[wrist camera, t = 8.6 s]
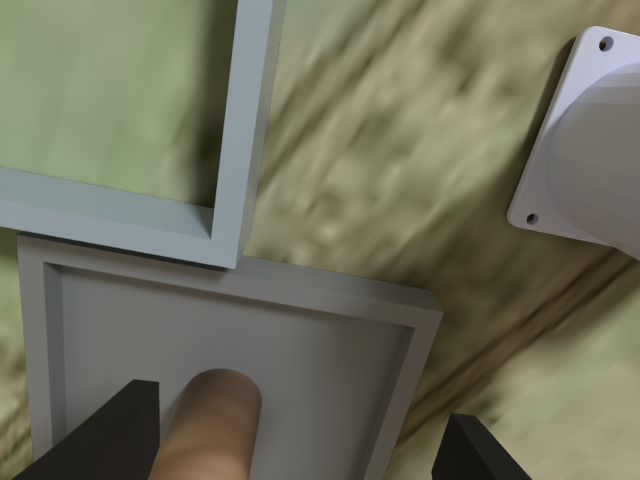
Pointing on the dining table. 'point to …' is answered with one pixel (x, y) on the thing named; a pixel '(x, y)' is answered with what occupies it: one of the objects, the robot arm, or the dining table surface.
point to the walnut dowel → (211, 430)
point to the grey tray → (226, 348)
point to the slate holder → (162, 214)
